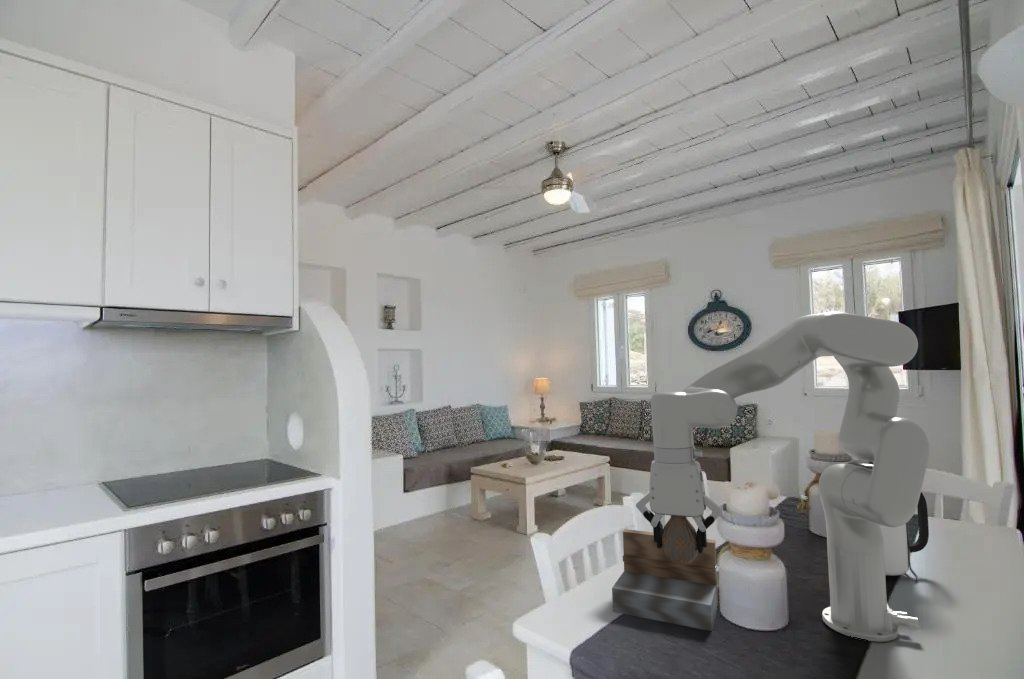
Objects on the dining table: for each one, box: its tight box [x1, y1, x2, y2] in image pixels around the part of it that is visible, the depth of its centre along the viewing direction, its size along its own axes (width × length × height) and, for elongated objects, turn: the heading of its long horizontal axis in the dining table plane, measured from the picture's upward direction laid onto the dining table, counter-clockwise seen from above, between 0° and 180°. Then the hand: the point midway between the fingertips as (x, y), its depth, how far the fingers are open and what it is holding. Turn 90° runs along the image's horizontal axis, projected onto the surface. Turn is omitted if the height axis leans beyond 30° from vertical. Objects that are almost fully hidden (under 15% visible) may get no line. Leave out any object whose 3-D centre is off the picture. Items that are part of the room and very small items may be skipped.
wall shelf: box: [611, 528, 719, 632], centre depth 112 cm, size 20×12×14 cm, turn 63°
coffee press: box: [846, 459, 930, 582], centre depth 129 cm, size 17×16×30 cm
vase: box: [661, 515, 698, 564], centre depth 100 cm, size 7×7×9 cm
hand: (680, 547), depth 100 cm, fingers closed on vase, 7 cm apart
